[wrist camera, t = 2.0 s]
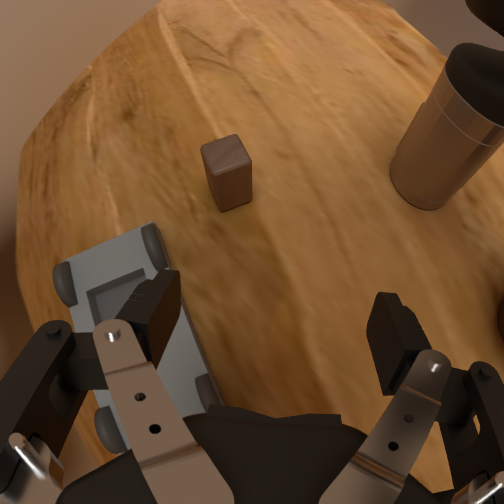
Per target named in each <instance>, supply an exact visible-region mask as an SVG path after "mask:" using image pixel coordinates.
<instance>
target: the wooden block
mask: <svg viewBox="0 0 504 504" xmlns="http://www.w3.org/2000/svg"><path fill="white" fill-rule="evenodd" d="M200 151H201V155H202V159H203V163H204V167H205V172H206V176H207V180H208V184H209V188H210V190H211V192H212V195H213V197H214V199H215V201H216V204H217V206H218V208H219V210H220V211H221V212H223V211H226V210H229V209H231V208H234V207H236V206H239V205H241V204H244V203H246V202H249V201H251V200H252V160H251V158H250V156H249V154H248V153H247V151H246V149H245V147H244V145H243V144H242V142H241V140H240V138H239V136H238V135H237V134H233V135H230V136H227V137H224V138H221V139H218V140H215V141H213V142H210V143H207V144H204V145H202V146H201V149H200Z"/></svg>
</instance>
